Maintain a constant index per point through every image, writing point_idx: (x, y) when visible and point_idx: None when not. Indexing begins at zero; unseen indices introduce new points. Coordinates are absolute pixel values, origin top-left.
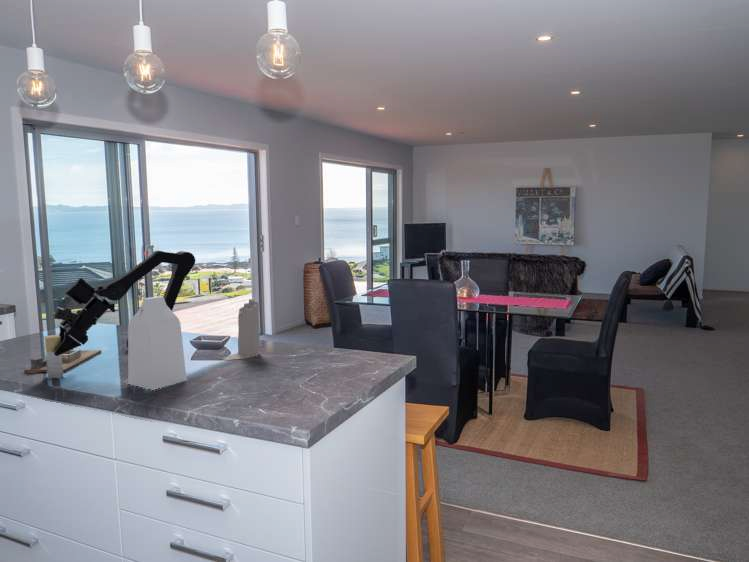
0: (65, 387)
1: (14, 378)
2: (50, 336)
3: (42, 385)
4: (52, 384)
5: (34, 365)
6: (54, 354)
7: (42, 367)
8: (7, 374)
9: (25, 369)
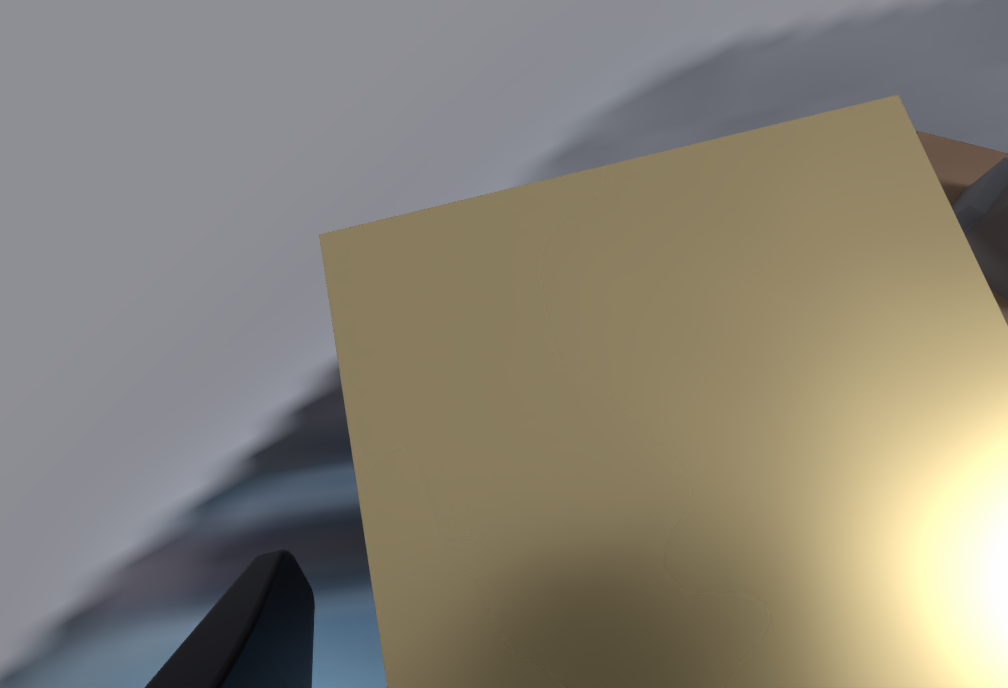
0: (74, 676)
1: (689, 110)
2: (721, 371)
3: (284, 418)
4: (274, 516)
5: (959, 209)
6: (267, 560)
7: (1000, 303)
8: (882, 16)
9: (937, 139)
